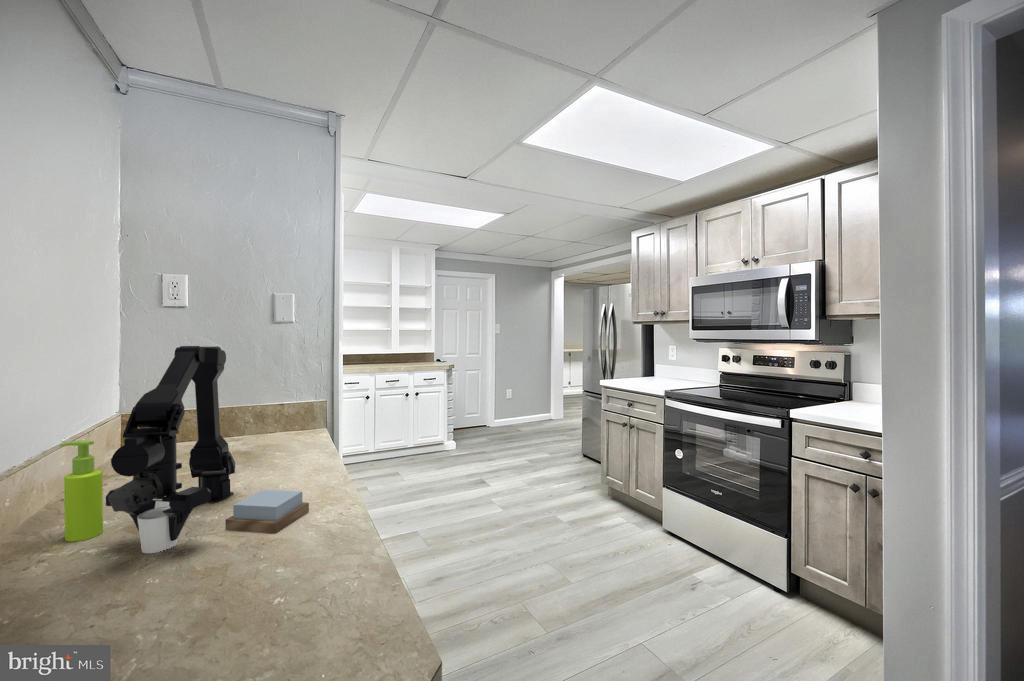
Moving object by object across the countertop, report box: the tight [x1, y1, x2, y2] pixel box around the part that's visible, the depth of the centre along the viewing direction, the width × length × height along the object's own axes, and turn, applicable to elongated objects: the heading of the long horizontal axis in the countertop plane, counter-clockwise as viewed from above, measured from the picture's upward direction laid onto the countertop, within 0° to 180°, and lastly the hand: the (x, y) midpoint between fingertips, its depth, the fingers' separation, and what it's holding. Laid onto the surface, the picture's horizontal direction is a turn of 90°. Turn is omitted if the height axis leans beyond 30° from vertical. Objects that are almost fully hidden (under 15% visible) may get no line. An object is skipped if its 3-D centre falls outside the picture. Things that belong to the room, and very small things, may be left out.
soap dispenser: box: [58, 440, 104, 543], centre depth 96 cm, size 6×7×20 cm
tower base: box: [225, 501, 310, 534], centre depth 104 cm, size 12×12×3 cm
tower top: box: [232, 489, 303, 521], centre depth 104 cm, size 10×10×3 cm
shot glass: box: [137, 506, 178, 554], centre depth 91 cm, size 7×7×7 cm
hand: (159, 539), depth 91 cm, fingers closed on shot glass, 6 cm apart
